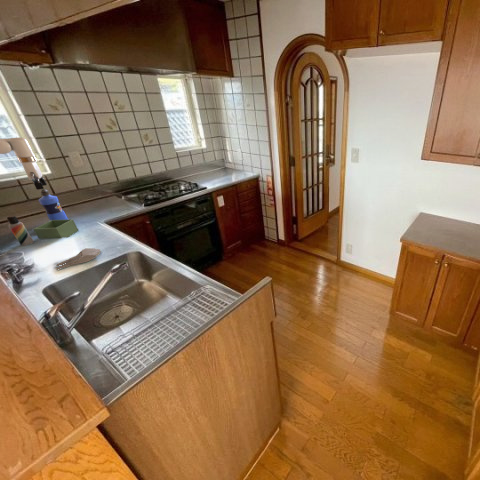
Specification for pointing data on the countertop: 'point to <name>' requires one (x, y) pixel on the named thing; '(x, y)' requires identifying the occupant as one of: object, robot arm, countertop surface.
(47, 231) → the bin
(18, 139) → the robot arm
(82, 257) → the tan elongated piece
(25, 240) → the lotion bottle
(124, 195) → the countertop surface
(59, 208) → the water bottle
